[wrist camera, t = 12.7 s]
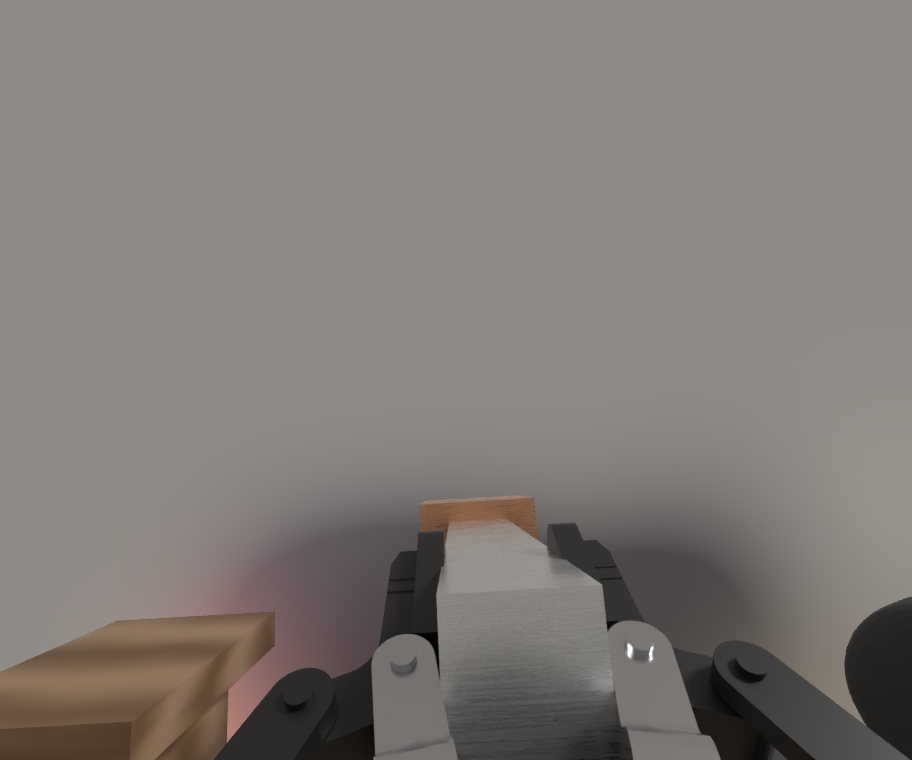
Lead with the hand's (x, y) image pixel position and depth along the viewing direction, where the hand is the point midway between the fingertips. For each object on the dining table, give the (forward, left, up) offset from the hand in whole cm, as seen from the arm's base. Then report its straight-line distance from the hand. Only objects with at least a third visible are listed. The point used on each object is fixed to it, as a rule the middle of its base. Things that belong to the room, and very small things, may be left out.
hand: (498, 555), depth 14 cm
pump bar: (-4, -5, -4) cm, 8 cm away
